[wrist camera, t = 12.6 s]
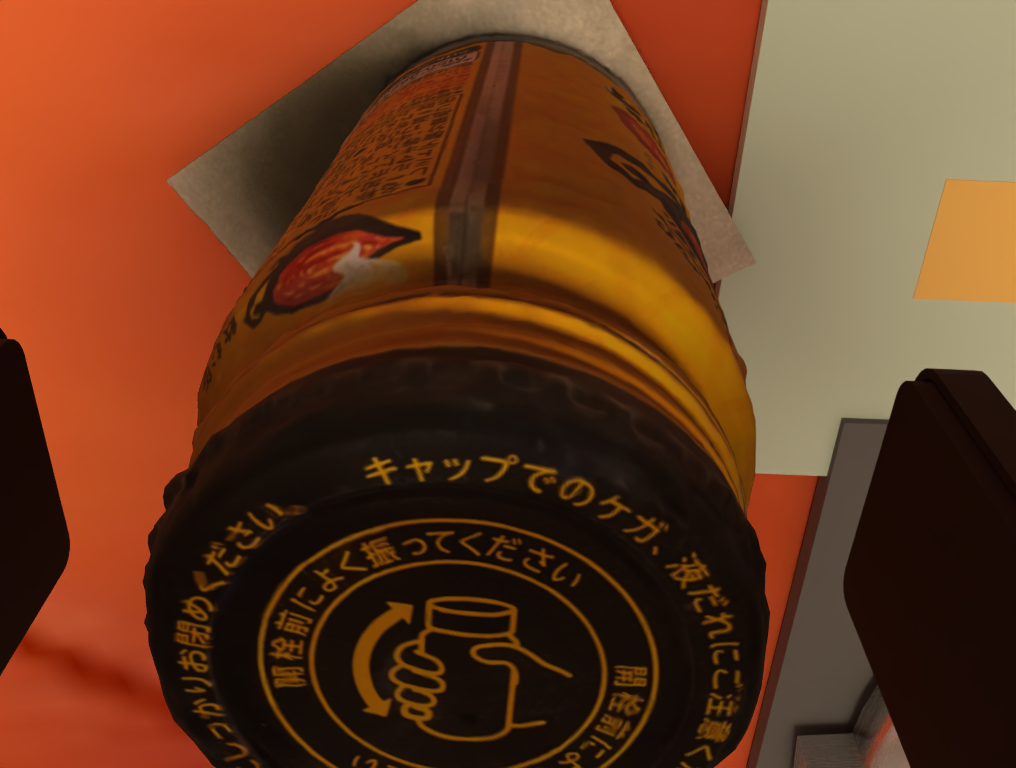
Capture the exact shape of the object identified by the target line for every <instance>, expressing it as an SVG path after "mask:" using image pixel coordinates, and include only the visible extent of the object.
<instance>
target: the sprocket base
mask: <svg viewBox="0 0 1016 768" xmlns="http://www.w3.org/2000/svg"><path fill="white" fill-rule="evenodd" d="M888 421H889V420H886V419H860V418H842V419H841V423H840V427H839V430H838V434H837V438H836V442H835V446H834V450H833V454H832V458H831V462H830V466H829V470H828V474H827V476H819V479H818V483H817V487H816V491H815V495H814V499H813V503H812V507H811V511H810V515H809V519H808V523H807V527H806V531H805V535H804V539H803V543H802V547H801V551H800V555H799V559H798V563H797V567H796V571H795V575H794V579H793V583H792V587H791V591H790V595H789V599H788V603H787V607H786V611H785V615H784V619H783V623H782V627H781V631H780V635H779V639H778V643H777V647H776V651H775V655H774V659H773V664H772V668H771V672H770V676H769V680H768V684H767V688H766V692H765V696H764V700H763V704H762V708H761V712H760V716H759V720H758V724H757V728H756V732H755V736H754V740H753V744H752V748H751V752H750V756H749V760H748V764H747V768H793V767H794V759H795V750H796V742H797V736H805V735H828V734H851V733H852V732H853V729H854V727H855V725H856V723H857V720H858V718H859V716H860V714H861V711H862V709H863V707H864V706H865V704H866V702H867V701H868V699H869V698H870V696H871V695H872V693H873V692H874V690H875V688H876V687H877V682H876V679H875V677H874V674H873V672H872V669H871V667H870V664H869V662H868V659H867V657H866V654H865V652H864V649H863V647H862V644H861V642H860V639H859V636H858V634H857V631H856V629H855V626H854V624H853V621H852V619H851V616H850V614H849V611H848V609H847V606H846V603H845V599H844V592H843V579H844V572H845V568H846V564H847V561H848V557H849V554H850V551H851V547H852V544H853V540H854V537H855V534H856V530H857V527H858V523H859V520H860V517H861V513H862V510H863V506H864V503H865V500H866V496H867V493H868V489H869V486H870V483H871V479H872V476H873V472H874V469H875V466H876V462H877V459H878V455H879V452H880V449H881V445H882V442H883V438H884V435H885V432H886V428H887V425H888Z"/></svg>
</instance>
